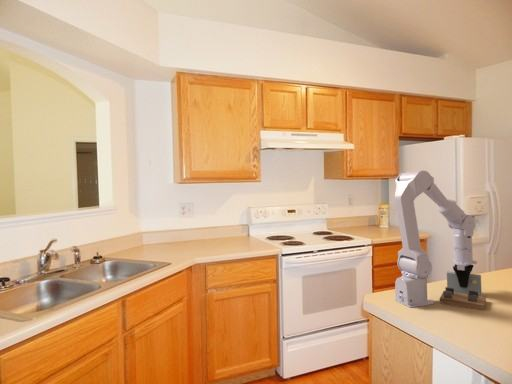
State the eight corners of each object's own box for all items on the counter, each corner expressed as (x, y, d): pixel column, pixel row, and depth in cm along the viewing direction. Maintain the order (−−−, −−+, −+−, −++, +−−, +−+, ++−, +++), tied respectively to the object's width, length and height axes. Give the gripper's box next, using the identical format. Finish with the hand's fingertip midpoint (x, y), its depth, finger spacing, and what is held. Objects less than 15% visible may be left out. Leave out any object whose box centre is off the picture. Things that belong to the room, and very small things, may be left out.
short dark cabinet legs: (477, 302, 100) (476, 296, 100) (443, 297, 105) (443, 291, 105) (478, 297, 104) (478, 291, 104) (445, 292, 109) (445, 287, 109)
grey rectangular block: (481, 297, 108) (480, 277, 108) (447, 292, 114) (446, 273, 114) (481, 295, 110) (480, 274, 110) (448, 290, 116) (447, 271, 116)
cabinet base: (484, 310, 97) (484, 305, 97) (439, 302, 104) (439, 298, 104) (485, 301, 104) (485, 296, 104) (443, 295, 111) (443, 290, 111)
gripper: (474, 252, 104) (476, 293, 104) (477, 245, 115) (479, 282, 116) (449, 250, 108) (451, 290, 109) (455, 244, 120) (456, 279, 120)
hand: (463, 286), depth 112 cm, fingers closed on grey rectangular block, 2 cm apart
